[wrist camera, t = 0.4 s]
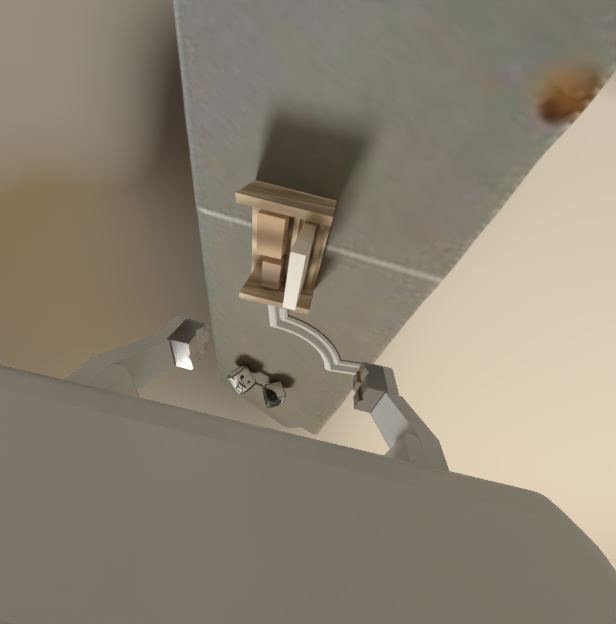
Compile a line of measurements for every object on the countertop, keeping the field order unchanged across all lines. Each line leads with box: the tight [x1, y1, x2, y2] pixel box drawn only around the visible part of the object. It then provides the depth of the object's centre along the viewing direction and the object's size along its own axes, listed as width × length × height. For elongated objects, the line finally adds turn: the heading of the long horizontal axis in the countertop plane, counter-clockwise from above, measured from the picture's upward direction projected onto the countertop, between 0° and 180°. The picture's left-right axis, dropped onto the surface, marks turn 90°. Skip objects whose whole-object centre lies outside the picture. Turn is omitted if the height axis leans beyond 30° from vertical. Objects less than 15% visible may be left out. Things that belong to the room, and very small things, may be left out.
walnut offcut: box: [261, 254, 286, 290], centre depth 50 cm, size 6×4×5 cm, turn 169°
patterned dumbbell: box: [228, 365, 286, 408], centre depth 86 cm, size 25×10×10 cm, turn 54°
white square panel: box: [283, 223, 316, 310], centre depth 43 cm, size 12×2×13 cm, turn 169°
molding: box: [268, 305, 361, 375], centre depth 69 cm, size 42×12×3 cm, turn 43°
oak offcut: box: [256, 209, 291, 260], centre depth 43 cm, size 8×5×6 cm, turn 169°
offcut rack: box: [236, 180, 337, 315], centre depth 46 cm, size 22×16×10 cm
